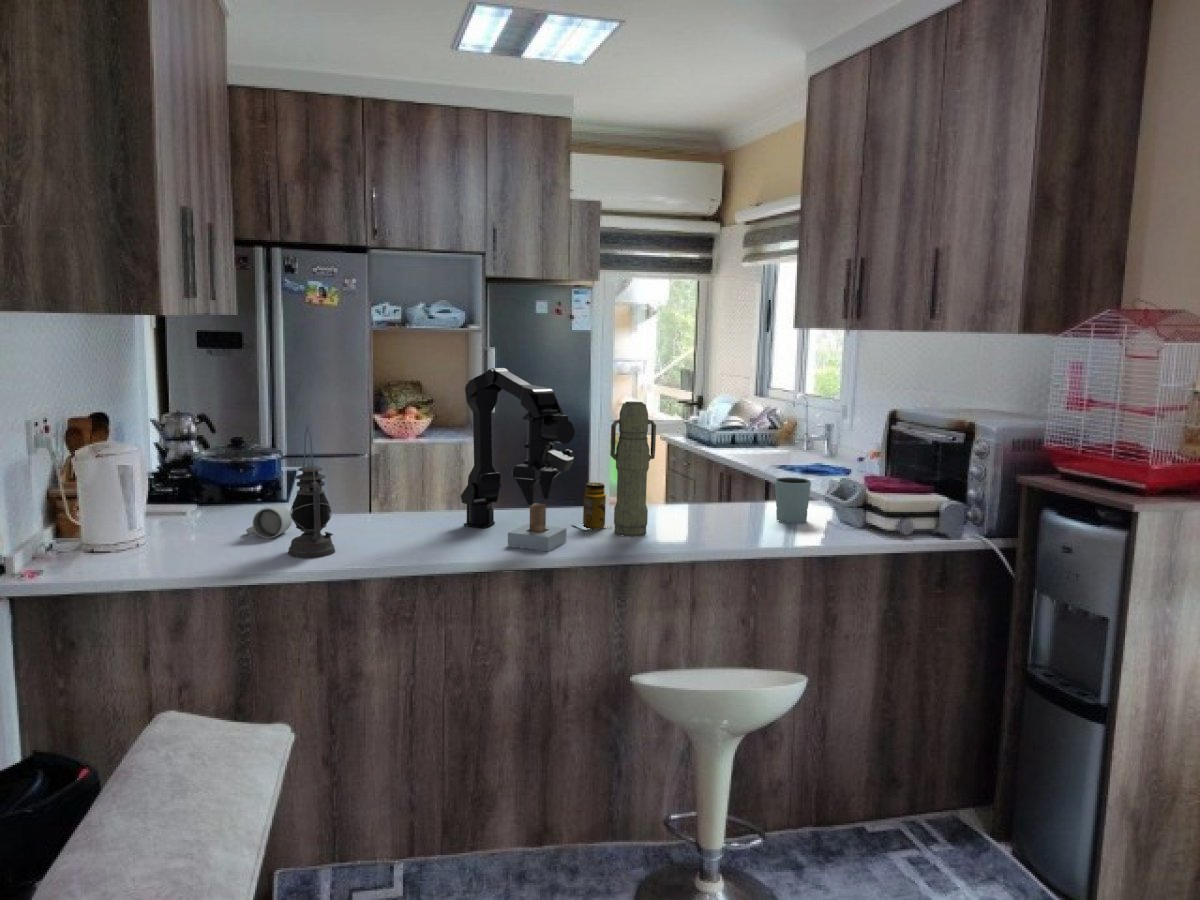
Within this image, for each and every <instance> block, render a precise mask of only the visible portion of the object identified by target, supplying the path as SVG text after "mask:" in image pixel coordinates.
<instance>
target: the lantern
mask: <svg viewBox="0 0 1200 900" xmlns="http://www.w3.org/2000/svg"><path fill="white" fill-rule="evenodd" d="M307 432H308V435H309V441H310V453H311V455H308V456H307V457H308V458H307V459H308V463H307V464H308V465H305V463H306V462H305V461H306V453H307V452H306V451H307V450H306V447H307V444H306V443H307V441H306V440H307ZM303 441H304V446H303V448H304V451H303V453H304V454H303V461H302V462H303V465H302V466H301V467H299V468H298V469H297V471H298V472H302V473H300V474H298V475H296V476H295V477H294V479H296V480H299V481H297V482H296V487H299V489H298V490H296V496H295V498H294V500H293V502H292V504H291V507H290V512H291V513H290V515H291V518H292V523H294V525H295V528H296V529H297V530H300V531H301V532H302V533H301V535H298V536H295V537H294V538H292V540H291V542H290V546H289V547H288V551H287V555H288V556H290V557H293V558H298V559H314V558H315V559H317V558H324V557H327V556H331V555H333V554H335V553H336V549H335V545H334V544H333V541H332V536H334V534H333V533H331V532H329V531H325V532H324V534H322V533H321V531H322V530H323V529H325V528H327V524H328V523H329V521H330V520H331V518H332V510H331V509H332V508H331V505H330V502H329V500H328V499H327V497H326V495H325V490H324V489H323V488H322V487H324V486H325V485H326V483H325V481H323V479H325V478H326V477H327V476H326V475H324V474H322V473H319V472H322V471H324V469H323V468H322V467H320V466H315V465H314V457H313V456H314V454H313V453H314V452H313V445H312V444H313V442H312V435H311V430H310V426H309V425H307V426H306V429H305V432H304V440H303ZM310 458H311V465H310Z"/></svg>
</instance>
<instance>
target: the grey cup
mask: <svg viewBox="0 0 1200 900" xmlns="http://www.w3.org/2000/svg"><path fill="white" fill-rule="evenodd" d="M811 486H812V481H811V480H810V479H809V478H803V477H793V476H792V477H788V476H787V477H778V478H775V479H774V487H775V488H774V489H775V496H776V498H775V506H776V511H775V512H776V513H775V514H776V521H777V520H779V521H781V522H780V523H782V522H786V523H785V524H789V523H797V524H796V525H801V524H800V523H802V524H805V523H807V520H808V509H809V502H810V500H809V498H810V494H811ZM779 521H778V522H779ZM798 523H799V524H798Z"/></svg>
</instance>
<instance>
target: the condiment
mask: <svg viewBox="0 0 1200 900" xmlns="http://www.w3.org/2000/svg"><path fill="white" fill-rule="evenodd" d="M606 500H607V494H606V493H605V484H604V483H602V482H587V483H586V484H585V492H584V493H583V510H582V511H583V512H582V515H583V516H582V518H583V519H582V524H584V525H583V526H584V527H586V528H590V529H587V531H593V530H592V529H594V530H601V529H600V528H604V527H606V529H610V528H611V526H609V525H608V526H607V525H606V503H607V501H606ZM607 527H608V528H607Z"/></svg>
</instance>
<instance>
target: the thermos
mask: <svg viewBox="0 0 1200 900" xmlns="http://www.w3.org/2000/svg"><path fill="white" fill-rule="evenodd" d="M618 417H619V419H617V420H614V421H613V422H612V424H611V425H610V429H611V430H610V451H609V453H610V454H609V456H610V457H611V458H612V459H613V460H615V469H616V473H617V476H616V477H617V478H616V479H617V480H616V502H615V505H614V507H613V508H614V509H613V510H614V511H613V525H614V530H613V531H614V532H613V533H614V534H615V535H617V536H620V535H623V536H622V537H627V536H638V537H643V536H645V534H646V535H647V526H648V516H649V515H648V513H649V512H648V511H649V509H648V507H647V486H648V485H647V484H648V483H647V477H648V471H649V468H650V461H651V460H654V459H655V458H656V457H655V456H656V441H657V440H656V439H657V434H656V433H657V425H656V423H655V422H654V420H653V419H649V412H648V408H647V404H646V403H644V402H643V401H625V402H623V403H622V405H621V408H620V411H619V416H618ZM618 424H619V425H618ZM617 425H618V432H619V436H618V442H617V444H616V435H617V433H616V430H617ZM649 425H651V430H650V445H649V443H648V442H649V441H648V440H649V439H648V433H649V432H648V431H649Z"/></svg>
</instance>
